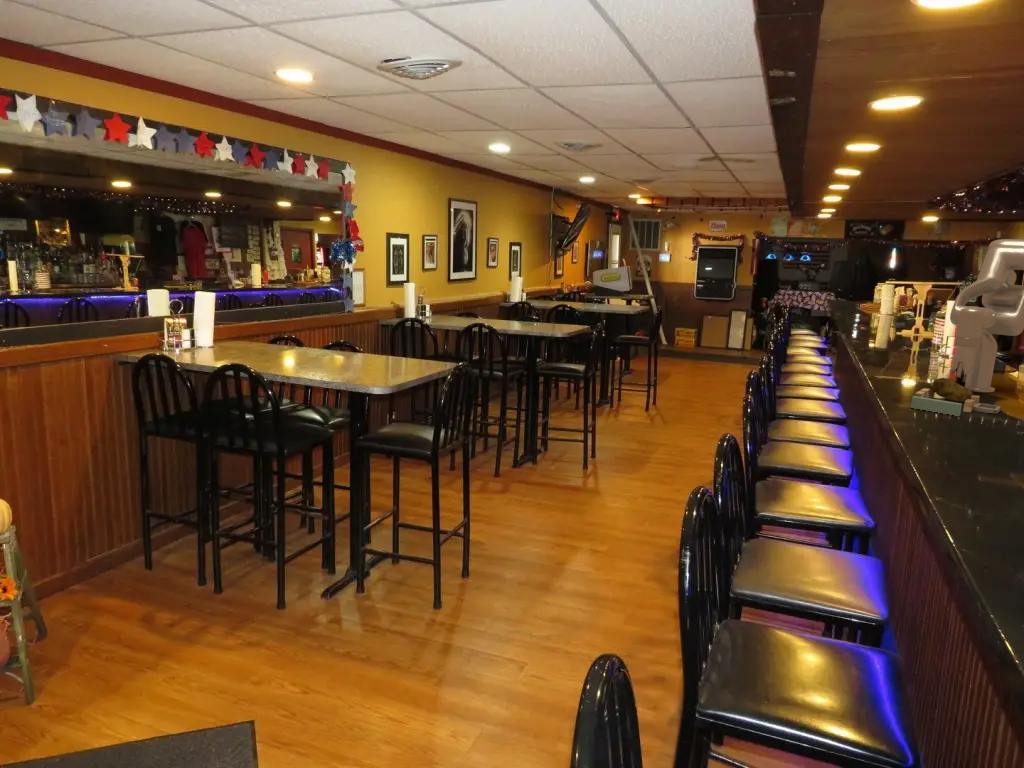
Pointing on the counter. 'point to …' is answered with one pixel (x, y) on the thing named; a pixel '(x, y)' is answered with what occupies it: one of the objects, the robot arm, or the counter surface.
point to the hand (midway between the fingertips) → (958, 391)
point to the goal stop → (936, 405)
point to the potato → (951, 390)
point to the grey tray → (986, 408)
